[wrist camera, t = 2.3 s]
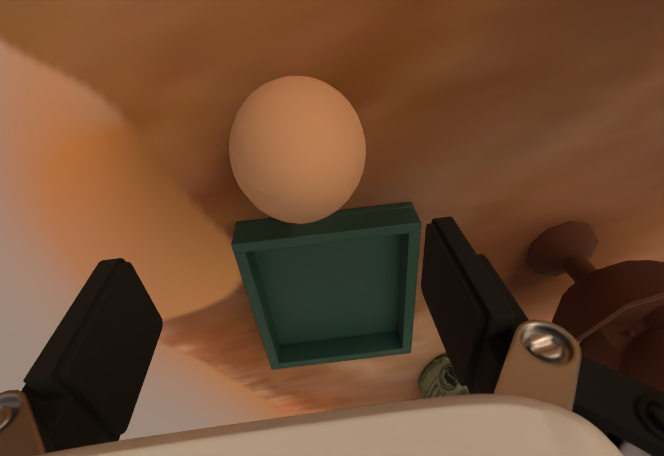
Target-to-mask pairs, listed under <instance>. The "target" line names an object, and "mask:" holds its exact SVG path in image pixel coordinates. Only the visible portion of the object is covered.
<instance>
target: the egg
mask: <svg viewBox="0 0 664 456" xmlns="http://www.w3.org/2000/svg"><path fill="white" fill-rule="evenodd" d="M229 155H230V163H231V167H232V171H233V175H234V177H235V179H236V181H237V183H238V185H239V187H240V189H241V190H242V191H243V192H244V194H245V195H246V196H247V197H248V199H249V200H250V201H251V202H252V203H253V204H254V205H255V206H256V207H257V208H258V209H259V210H261V211H262V212H264V213H266V214H267V215H269V216H270V217H273V218H275V219H278V220H281V221H284V222H288V223H298V224H304V223H310V222H315V221H318V220H320V219H323V218H325V217H327V216H329V215H331V214H332V213H334V212H336V211H337V210H339V209H340V208H341V207H342V206H343V205H344V204H345V203H346V202H347V201H348V199H349V198H350V197H351V195H352V194H353V192H354V191H355V189H356V188H357V186H358V184H359V181H360V179H361V177H362V174H363V172H364V165H365V158H366V143H365V137H364V133H363V129H362V125H361V123H360V120H359V118H358V115H357V113H356V112H355V110H354V109H353V107H352V105H351V104H350V102H349V101H348V100H347V99H346V98H345V97H344V96H343V95H342V94H341V93H340V92H339V91H337V90H336V89H335V88H333V87H332V86H330V85H329V84H327V83H326V82H323V81H320V80H318V79H315V78H312V77H308V76H285V77H281V78H278V79H275V80H272V81H270V82H267V83H264V84H263V85H261V86H260V87H259V88H258V89H256V90H255V91H254V92H252V93H251V94H250V95H249V96H248V97H247V99H246V100H245V101H244V103H243V104H242V106H241V107H240V108H239V110H238V111H237V113H236V116H235V119H234V122H233V125H232V128H231V133H230V139H229Z"/></svg>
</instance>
